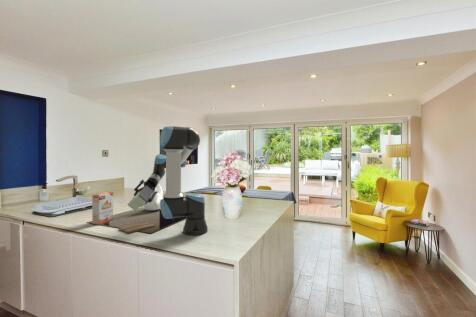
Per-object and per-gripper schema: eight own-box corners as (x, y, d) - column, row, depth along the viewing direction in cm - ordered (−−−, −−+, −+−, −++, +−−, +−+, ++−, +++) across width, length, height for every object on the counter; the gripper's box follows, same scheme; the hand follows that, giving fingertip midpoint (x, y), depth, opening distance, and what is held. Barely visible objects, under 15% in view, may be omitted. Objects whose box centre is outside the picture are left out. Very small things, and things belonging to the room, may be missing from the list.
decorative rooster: (154, 213, 197) (153, 183, 196) (139, 211, 203) (138, 182, 202) (172, 206, 220) (172, 179, 220) (158, 205, 226) (158, 179, 225)
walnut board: (155, 226, 161) (155, 224, 161) (129, 233, 147) (128, 232, 147) (144, 223, 169) (144, 221, 169) (118, 229, 155) (118, 228, 155)
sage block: (141, 200, 162) (153, 191, 157) (134, 210, 153) (147, 201, 148) (134, 195, 160) (146, 185, 155) (127, 204, 151) (139, 194, 146)
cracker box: (99, 225, 165) (99, 194, 165) (92, 224, 166) (91, 194, 166) (113, 219, 179) (113, 191, 178) (106, 219, 180) (106, 191, 180)
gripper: (159, 192, 173) (145, 215, 153) (139, 175, 167) (121, 195, 147) (166, 187, 170) (153, 209, 150) (145, 169, 164) (128, 189, 144)
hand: (137, 202), depth 149 cm, fingers closed on sage block, 6 cm apart
